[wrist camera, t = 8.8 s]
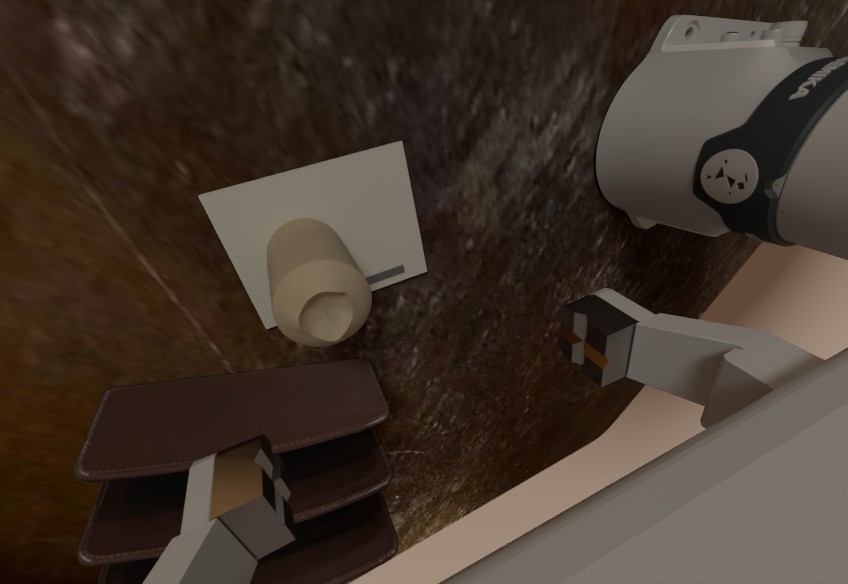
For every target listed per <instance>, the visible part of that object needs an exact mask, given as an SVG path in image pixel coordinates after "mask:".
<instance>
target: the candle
mask: <svg viewBox="0 0 848 584" xmlns="http://www.w3.org/2000/svg"><path fill="white" fill-rule="evenodd" d="M266 255H267V268H268V278H269V287H270V296H271V305H272V313H273V318H274V320H275V323H276V325H277V326H278V328H279V329H280V330H281V332H282V333H283V334H284V335H285V336H287V337H288V338H289V339H291V340H293V341H295V342H297V343H299V344H302V345H306V346H313V347H322V346H329V345H333V344H336V343H339V342H341V341H344V340H346V339H347V338H349V337H351V336H352V335H353V334H355V333H356V332H357V331H358V330H359V329H360V328H361V327H362V325H363V324H364V323H365V321H366V319H367V317H368V315H369V313H370V310H371V305H372V293H371V289H370V286H369V284H368V282H367V280H366V278H365V277H364V275H363V273H362V272H361V270H360V269H359V267H358V265H357V264H356V262H355V261H354V259H353V258H352V256H351V254H350V253H349V251H348V250H347V248H346V246H345V245H344V243H343V242H342V240H341V238H340V237H339V236H338V234H337V233H336V232H335V231H334V230H333V229H332V228H331V227H330V226H329V225H327V224H325V223H323V222H321V221H319V220H316V219H311V218H299V219H294V220H291V221H288V222H287V223H285V224H283V225H282V226H280V227H279V228H278V229H277V230H276V231H275V232H274V233H273V235H272V236H271V238H270V240H269V243H268V246H267V252H266Z"/></svg>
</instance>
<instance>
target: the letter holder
mask: <svg viewBox="0 0 848 584" xmlns="http://www.w3.org/2000/svg"><path fill="white" fill-rule="evenodd" d="M389 412H390V410H389V406H388V403H387V401H386V399H385V397H384V395H383V392H382V390H381V388H380V385H379V382H378V380H377V377H376V374H375V373H374V370H373V367H372V365H371V363H370V361H369V359H368V358H359V359H349V360H342V361H334V362H326V363H316V364H307V365H298V366H291V367H283V368H274V369H264V370H256V371H247V372H238V373H230V374H223V375H215V376H206V377H196V378H190V379H181V380H172V381H164V382H156V383H148V384H139V385H131V386H123V387H116V388H109V389H106V390H105V391H104V392H103V394H102V396H101V402H100V404H99V406H98V409H97V411H96V414H95V416H94V419H93V421H92V423H91V426H90V428H89V431H88V434H87V436H86V438H85V441H84V443H83V445H82V448H81V450H80V452H79V455H78V457H77V459H76V462H75V465H74V474H75V476H77V477H78V478H79V479H83V480H85V481H87V482H101V481H102V483H101V486H100V489H99V492H98V495H97V498H96V501H95V504H94V507H93V510H92V512H91V516H90V519H89V521H88V524H87V527H86V530H85V533H84V535H83V538H82V541H81V543H80V547H79V550H78V560H79V561H80V563H81V564H82V565H90V566H93V565H94V566H96V565H103V568H102V571H101V574H100V578H99V581H98V584H142V583H143V582H144V580H145V579H146V577H147V576H148V574H149V573H150V571H151V570H152V568H153V567H154V565H155V564H156V562H157V561H158V559H159V558H160V556H161V555H162V553H163V552H164V550H165V549H166V547H167V546H168V544H169V543H170V541H171V540H172V538H174V537H177V536H179V535H180V533H181V526H182V519H183V512H184V505H185V498H186V491H187V484H188V477H189V470H190V468H191V466H192V464H193V462H195V461H197V460H200V459H202V458H205V457H207V456H210V455H212V454H215V453H217V452H219V451H221V450H224V449H226V448H229V447H231V446H234V445H236V444H239V443H241V442H244V441H246V440H249V439H251V438H254V437H256V436H259V435H261V434H265V435H266V436H267V438H268V439H269V441H270V442H271V447H272V453H275V454H278V455H279V456H280V458H281V459H282V461H283V463H284V466H285V468H286V471H287V474H288V478H289V482H290V490H291V494H290V496H289V498H288V500H287V503H288V504H289V506H290V507H291V509H292V510H293V516H294V526H295V535H296V540H294V541H292V542H290V543H288V544H286V545H284V546H283V547H281V548H279V549H277V550H275V551H273V552H271V553H269V554H267V555H266V556H264V557H262V558H260V559H258V560H256V561H257V562H258V563H257V566H256V569H255V571H254V574H253V576H252V579H251V581H250V584H344V583H346V582H348V581H351V580H352V579H354V578H356V577H358V576H361V575H363V574H365V573H366V572H368V571H370V570H372V569H374V568H376V567H378V566H380V565H382V564H384V563H385V562H387V561H388V560H390V559H392V557H393V556H394V555H395V554H396V552H397V550H398V537H397V534H396V531H395V528H394V525H393V523H392V520H391V517H390V514H389V511H388V508H387V505H386V503H385V500H384V497H383V494H382V491H383V490H385V489H386V488H387V487H388V485H389V484H390V482H391V480H392V478H393V471H392V468H391V465H390V463H389V460H388V457H387V455H386V452H385V449H384V447H383V444H382V442H381V439H380V437H379V434H378V431H377V428H376V425H379V424H381V423H383V422H384V421H385V420H387V419H388V417H389Z"/></svg>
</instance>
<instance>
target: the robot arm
mask: <svg viewBox="0 0 848 584" xmlns="http://www.w3.org/2000/svg"><path fill="white" fill-rule="evenodd" d="M807 22H808V21H791V22H779V23H766V22H755V21H745V20H734V19H724V18H713V17H703V16H693V15H674V16H671V17H670V18H669V19H668V20H667V21H666V22H665V24H664V25H663V27H662V28H661V30H660V32H659V34H658V36H657V38H656V39H655V41H654V43H653V45H652V47H651V49H650V52H649V53H648V55H647V56H646V58H645V59H644V60H643V61H642V62H641V64H640V65H639V66H638V67H637V68H636V69H635V70H634V71H633V72H632V74H631V75H630V76H629V77H628V78H627V80H626V81H625V82H624V84H623V85H622V87H621V88H620V90H619V91H618V93H617V94H616V96H615V98H614V100H613V102H612V103H611V105H610V108H609V110H608V112H607V114H606V117H605V119H604V122H603V125H602V128H601V132H600V135H599V140H598V145H597V152H596V173H597V179H598V183H599V187H600V189H601V191H602V193H603V195H604V197H605V198H606V199H607V200H608V201H609V202H610V203H611V204H612V205H613V206H615V207H617V208H619V209H621V210H624V211H625V212H626V213H628V215H629V217H630V219H631V221H632V223H633V224H634V225H635V226H636V227H639V228H643V229H648V228H650V227H652V226H654V225H655V224H657V223H660V224H664V225H668V226H671V227H675V228H679V229H683V230H687V231H690V232H694V233H698V234H702V235H706V236H712V237H715V236H719V235H720V234H723V233H726V232H728V231H730V230H731V231H733V232H736V233H739V234H743V235H746V236H749V238H751V239H754V240H757V241H761V242H764V243H765V242H767V243H769V242H770V243H773V244H777V245H781V246H793V245H796V244H798V245H801V246H804V247H807V248H811V249H814V250H817V251H821V252H824V253H827V254H830V255H833V256H836V257H840V258H843V259H846V260H848V57H833V56H832V54H831V52H830V51H829V50H828V49H826V48H813V47H799V45H800V43H799V41H801V40H802V37H803V35H804V33H805V30H806V27H807V25H808V24H807ZM557 320H559V321H560V322H561V323H562V324H561V326H560V328H559V329H558V331H557V342H558V344H559V347H560V349H561V351H562V352H563V354H564V355H565V356H566V357H567V358H568V359H569V360H570V361H571V362H574V363H578V364H581V365H582V368H583V372H584V373H585V374H586V375H587V376H588V377H590V378H591V379H592V380H593V381H594V382H595V383H597V384H598V385H599V386H600V387H603V386H605V385H607V384H610V383H612V382H614V381H616V380H618V379H620V378H623V377H625V376H627V377H628V378H630V379H633V380H636V381H638V382H641V383H644V384H646V385H649V386H652V387H655V388H657V389H660V390H662V391H665V392H668V393H671V394H673V395H676V396H679V397H681V398H684V399H687V400H689V401H692V402H695V403H698V404H700V405H703V406H705V409H704V411H703V414H702V417H701V425H702V426H703V427H704V428H706V430H704V431H703V432H701V433H699V434H697V435H696V436H694V437H692V438H690V439H688V440H687V441H685V442H683V443H682V444H680V445H678V446H676V447H675V448H673V449H671V450H669V451H668V452H666V453H664V454H662V455H661V456H659V457H657V458H656V459H654V460H652V461H651V462H649V463H647V464H645V465H643V466H642V467H640V468H638V469H637V470H635V471H633V472H631V473H629V474H628V475H626V476H624V477H623V478H621V479H619V480H617V481H616V482H614V483H612V484H610V485H609V486H607V487H605V488H603V489H602V490H600V491H598V492H597V493H595V494H593V495H591V496H590V497H588V498H586V499H584V500H583V501H581V502H579V503H578V504H576V505H574V506H572V507H570V508H569V509H567V510H565V511H564V512H562V513H560V514H558V515H557V516H555V517H553V518H551V519H550V520H548V521H546V522H545V523H543V524H541V525H539V526H537V527H536V528H534V529H532V530H531V531H529V532H527V533H525V534H524V535H522V536H520V537H519V538H517V539H515V540H513V541H512V542H510V543H508V544H506V545H505V546H503V547H501V548H499V549H498V550H496V551H494V552H492V553H491V554H489V555H487V556H486V557H484V558H482V559H480V560H478V561H477V562H475V563H473V564H472V565H470V566H468V567H466V568H465V569H463V570H461V571H460V572H458V573H456V574H454V575H453V576H451V577H449V578H447V579H446V580H444V581H442V582H440V583H439V584H848V348H846V349H844V350H843V351H841V352H839V353H838V354H836V355H834V356H832V357H831V358H829V359H827V360H823V359H821V358H819V357H817V356H815V355H813V354H811V353H809V352H807V351H805V350H803V349H801V348H799V347H797V346H795V345H793V344H791V343H788V342H787V341H785V340H783V339H780V338H779V337H777V336H774V335H772V334H770V333H768V332H766V331H761V330H756V329H749V328H744V327H738V326H732V325H727V324H721V323H715V322H709V321H703V320H698V319H692V318H686V317H680V316H674V315H669V314H663V313H659V314H657V315H655V314H653V313H652V312H650V311H648V310H646V309H645V308H643V307H641V306H639V305H638V304H636V303H634V302H632V301H631V300H629V299H627V298H626V297H624V296H622V295H620V294H619V293H617V292H615V291H613V290H612V289H608V288H604V289H601V290H599V291H597V292H594V293H592V294H590V295H588V296H585V297H583V298H581V299H579V300H576V301H574V302H572V303H569V304H567V305H565V306H562V307H560V309H559V311H558V318H557ZM290 494H291V490H290V482H289V478H288V474H287V471H286V468H285V466H284V463H283V461H282V459H281V458H280V456H279V455H278V454H275V453H272V447H271V442H270V441H269V439H268V438H267V436H266V435H265V434H261V435H259V436H256V437H254V438H251V439H249V440H246V441H244V442H241V443H239V444H236V445H234V446H231V447H229V448H226V449H224V450H221V451H219V452H217V453H215V454H212V455H210V456H207V457H205V458H202V459H200V460H197V461H195V462H193V464H192V466H191V468H190V470H189V477H188V484H187V491H186V498H185V505H184V512H183V519H182V526H181V533H180V535H179V536H177V537H174V538H172V540H171V541H170V543H169V544H168V546H167V547H166V549H165V550H164V552H163V553H162V555H161V556H160V558H159V559H158V561H157V562H156V564H155V565H154V567H153V568H152V570H151V571H150V573H149V574H148V576H147V577H146V579H145V580H144V582H143V583H142V584H250V581H251V579H252V576H253V574H254V571H255V569H256V566H257V563H258V562H257V561H256V560H258V559H260V558H262V557H264V556H266V555H267V554H269V553H271V552H273V551H275V550H277V549H279V548H281V547H283V546H284V545H286V544H288V543H290V542H292V541H294V540H296V535H295V526H294V516H293V510H292V509H291V507H290V506H289V504H288V503H287V500H288V498H289V496H290Z"/></svg>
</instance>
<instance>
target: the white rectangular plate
mask: <svg viewBox="0 0 848 584" xmlns="http://www.w3.org/2000/svg"><path fill="white" fill-rule="evenodd" d="M198 197H199V199H200V201H201V203H202V205H203V206H204V208H205V210H206V212H207V214H208V216H209V218H210V220H211V222H212V224H213V226H214V228H215V230H216V232H217V234H218V236H219V238H220V240H221V242H222V244H223V246H224V248H225V249H226V251H227V253H228V255H229V257H230V259H231V261H232V263H233V265H234V267H235V269H236V271H237V273H238V275H239V277H240V279H241V281H242V283H243V285H244V287H245V289H246V291H247V293H248V294H249V296H250V298H251V300H252V302H253V304H254V306H255V308H256V310H257V312H258V314H259V316H260V318H261V320H262V322H263V324H264V326H265V328H266V329H269V328H272V327H274V326H277V325H276V323H275V320H274V318H273V313H272V305H271V296H270V287H269V278H268V268H267V255H266V252H267V246H268V243H269V240H270V238H271V236H272V235H273V233H274V232H275V231H276V230H277V229H278V228H279V227H280V226H282V225H283V224H285V223H287V222H288V221H291V220H294V219H299V218H311V219H316V220H319V221H321V222H323V223H325V224H327V225H329V226H330V227H331V228H332V229H333V230H334V231H335V232H336V233H337V234H338V236H339V237H340V238H341V240H342V242H343V243H344V245H345V246H346V248H347V250H348V251H349V253H350V254H351V256H352V258H353V259H354V261H355V262H356V264H357V265H358V267H359V269H360V270H361V272H362V273H363V275H364V277H365V278H366V280H367V282H368V284H369V286H370V289H371V291H374V290H377V289H380V288H383V287H385V286H388V285H391V284H394V283H396V282H399V281H402V280H405V279H407V278H410V277H413V276H416V275H419V274H421V273H424V272H427V268H426V263H425V258H424V252H423V247H422V242H421V237H420V232H419V226H418V221H417V216H416V211H415V205H414V200H413V195H412V190H411V185H410V179H409V174H408V169H407V164H406V158H405V153H404V148H403V143H402V141H398V142H395V143H391V144H387V145H384V146H380V147H376V148H372V149H369V150H365V151H361V152H357V153H354V154H350V155H346V156H343V157H339V158H335V159H331V160H328V161H324V162H320V163H316V164H313V165H309V166H305V167H302V168H298V169H294V170H290V171H287V172H283V173H279V174H275V175H272V176H268V177H264V178H261V179H257V180H253V181H249V182H246V183H242V184H238V185H235V186H231V187H227V188H223V189H220V190H216V191H212V192H208V193H205V194H201V195H199V196H198Z"/></svg>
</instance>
